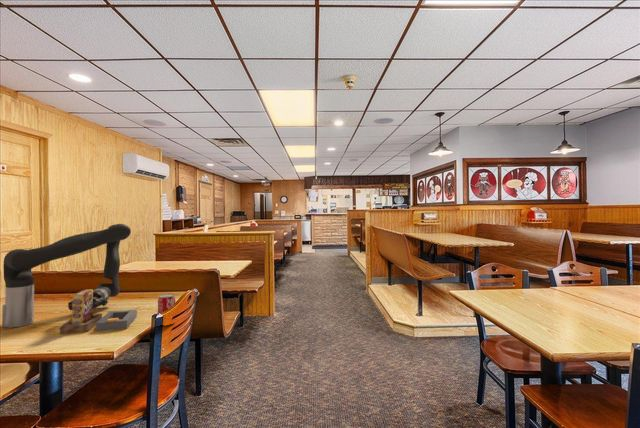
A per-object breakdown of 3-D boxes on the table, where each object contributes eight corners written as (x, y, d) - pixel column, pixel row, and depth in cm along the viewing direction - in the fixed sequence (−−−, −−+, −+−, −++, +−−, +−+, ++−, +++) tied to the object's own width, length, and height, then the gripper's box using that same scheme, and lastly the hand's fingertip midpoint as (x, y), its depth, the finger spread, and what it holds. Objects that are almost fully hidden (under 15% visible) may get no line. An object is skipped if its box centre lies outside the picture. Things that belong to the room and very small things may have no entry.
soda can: (168, 327, 135) (168, 297, 135) (153, 326, 136) (154, 296, 136) (178, 322, 142) (179, 293, 142) (165, 320, 143) (165, 292, 143)
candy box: (82, 329, 131) (83, 294, 131) (70, 330, 130) (71, 294, 130) (93, 322, 140) (93, 289, 140) (82, 323, 139) (82, 289, 139)
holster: (60, 334, 127) (60, 326, 127) (76, 321, 141) (76, 315, 141) (88, 331, 130) (89, 324, 130) (101, 319, 144) (102, 313, 144)
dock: (95, 331, 130) (96, 321, 130) (109, 318, 145) (109, 309, 145) (127, 328, 133) (127, 318, 133) (136, 316, 149) (137, 307, 149)
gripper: (79, 291, 148) (62, 299, 133) (113, 289, 153) (101, 297, 137) (79, 306, 148) (62, 317, 133) (113, 304, 153) (101, 314, 137)
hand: (82, 307), depth 135 cm, fingers open, 8 cm apart
